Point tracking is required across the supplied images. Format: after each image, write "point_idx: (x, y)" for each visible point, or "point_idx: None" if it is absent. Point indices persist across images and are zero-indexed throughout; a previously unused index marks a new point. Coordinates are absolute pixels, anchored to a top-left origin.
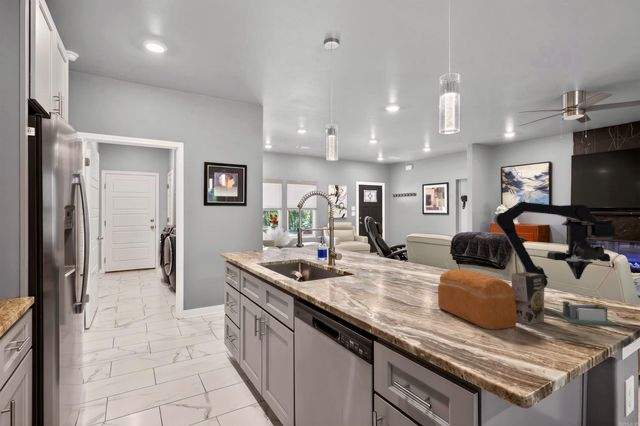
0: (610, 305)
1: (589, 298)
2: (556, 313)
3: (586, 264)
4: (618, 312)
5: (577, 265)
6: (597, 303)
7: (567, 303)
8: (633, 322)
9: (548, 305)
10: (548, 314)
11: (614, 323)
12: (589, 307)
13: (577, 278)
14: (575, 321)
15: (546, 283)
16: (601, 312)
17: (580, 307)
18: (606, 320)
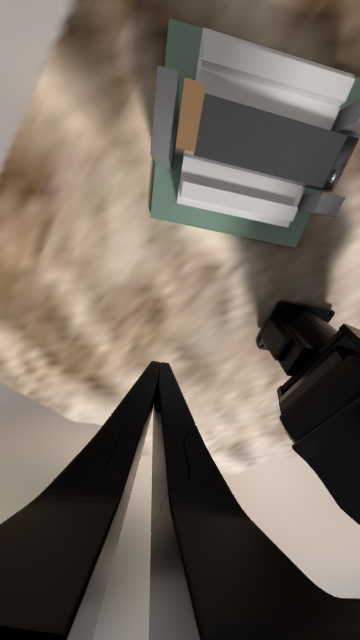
0: (11, 334)
1: (39, 391)
2: (297, 237)
3: (33, 538)
4: (25, 259)
5: (196, 511)
6: (192, 120)
7: (326, 194)
8: (37, 94)
9: (217, 338)
10: (322, 241)
11: (174, 21)
12: (258, 110)
13: (168, 366)
14: (356, 80)
15: (353, 357)
16: (229, 35)
17: (304, 127)
18: (183, 81)
